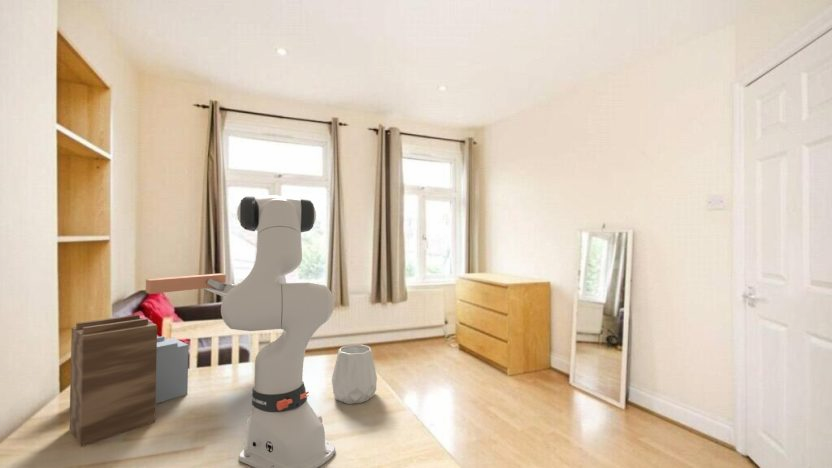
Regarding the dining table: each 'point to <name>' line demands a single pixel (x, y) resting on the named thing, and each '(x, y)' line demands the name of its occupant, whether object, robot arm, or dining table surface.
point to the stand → (112, 377)
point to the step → (171, 369)
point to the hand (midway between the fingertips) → (203, 280)
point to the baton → (181, 283)
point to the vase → (354, 374)
